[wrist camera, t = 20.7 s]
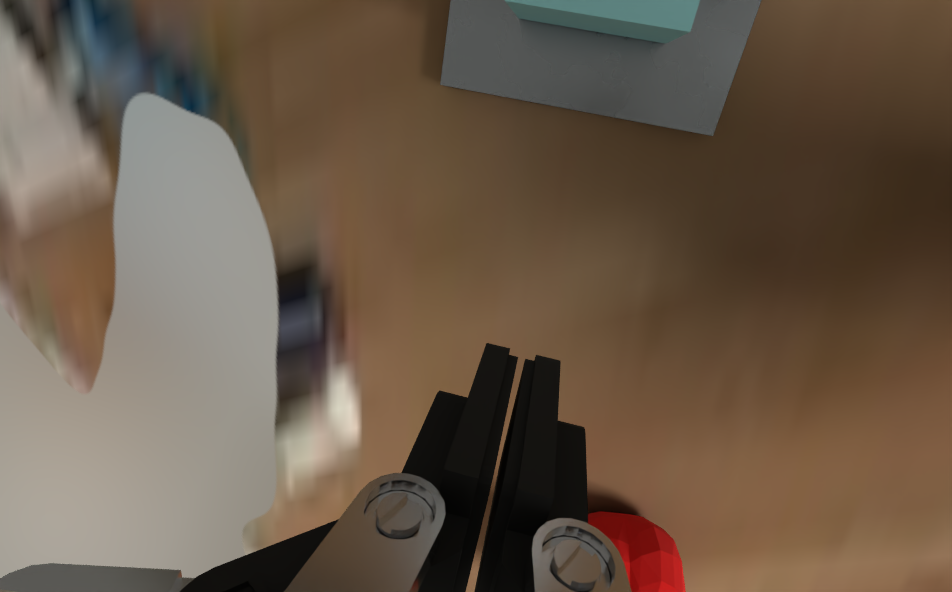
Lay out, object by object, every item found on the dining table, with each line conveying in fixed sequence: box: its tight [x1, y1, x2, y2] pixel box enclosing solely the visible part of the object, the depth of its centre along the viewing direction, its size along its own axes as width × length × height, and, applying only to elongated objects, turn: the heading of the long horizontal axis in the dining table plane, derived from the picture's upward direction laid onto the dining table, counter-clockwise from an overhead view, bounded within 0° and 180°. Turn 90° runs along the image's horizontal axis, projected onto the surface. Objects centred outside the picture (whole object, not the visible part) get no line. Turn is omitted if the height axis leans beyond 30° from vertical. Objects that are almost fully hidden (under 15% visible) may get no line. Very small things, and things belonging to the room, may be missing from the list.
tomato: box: [588, 511, 685, 592], centre depth 38 cm, size 11×13×10 cm
